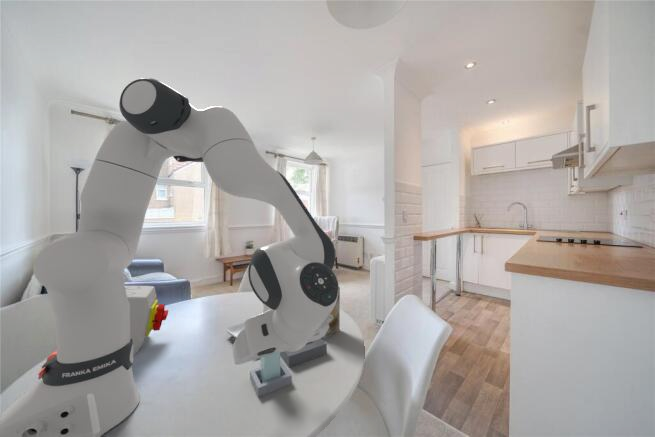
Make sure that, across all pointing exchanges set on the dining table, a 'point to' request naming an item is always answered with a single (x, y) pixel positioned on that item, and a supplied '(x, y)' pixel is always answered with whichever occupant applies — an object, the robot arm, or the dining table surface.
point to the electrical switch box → (144, 313)
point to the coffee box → (334, 319)
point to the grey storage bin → (272, 384)
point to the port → (305, 353)
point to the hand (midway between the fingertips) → (275, 350)
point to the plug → (270, 367)
